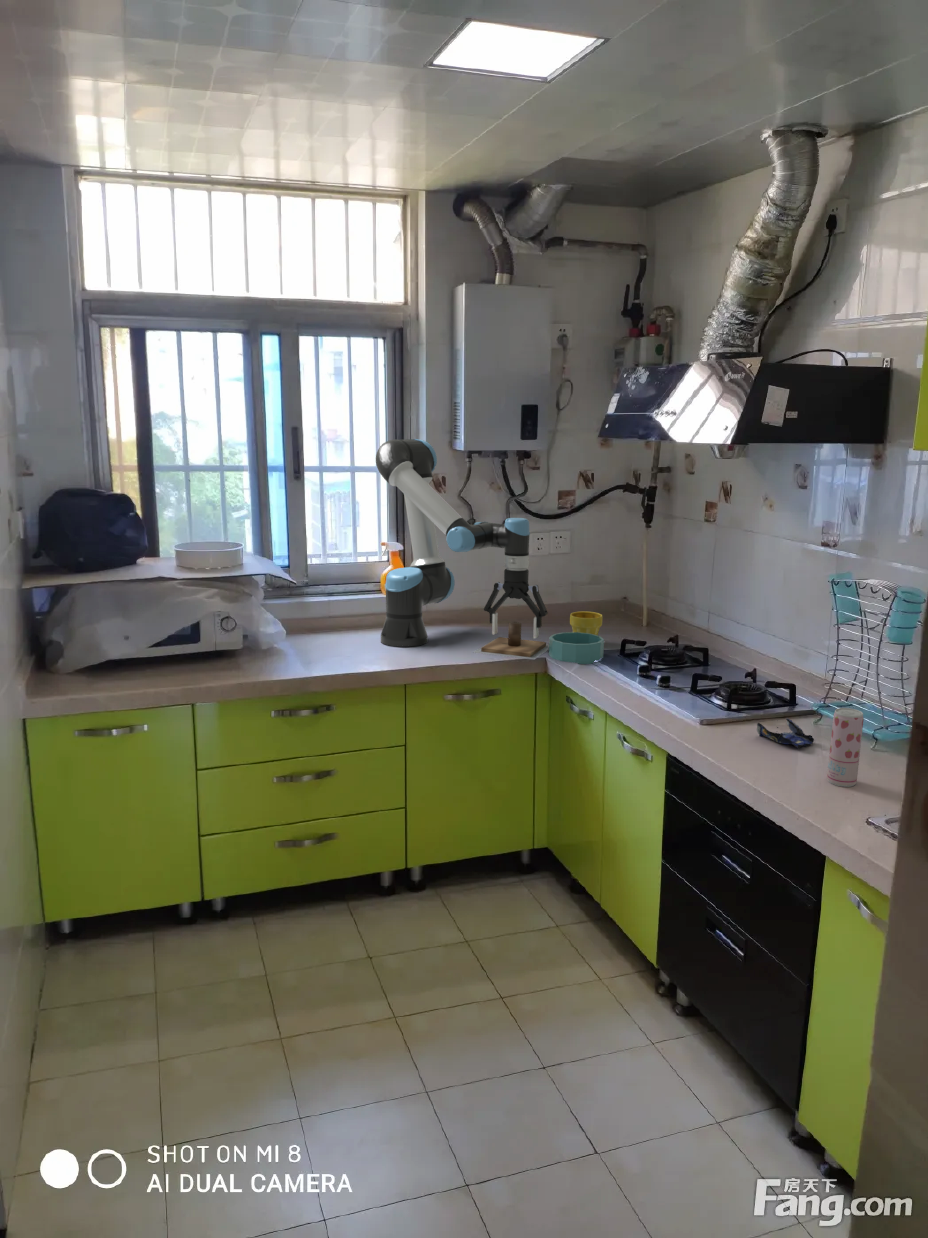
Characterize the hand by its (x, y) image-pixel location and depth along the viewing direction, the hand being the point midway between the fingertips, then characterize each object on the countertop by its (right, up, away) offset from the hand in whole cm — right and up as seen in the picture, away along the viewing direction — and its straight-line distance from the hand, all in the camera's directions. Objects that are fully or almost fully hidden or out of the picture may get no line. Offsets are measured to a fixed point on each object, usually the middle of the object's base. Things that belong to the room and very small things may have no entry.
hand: (515, 635), depth 292 cm
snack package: (+58, -23, -79) cm, 100 cm away
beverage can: (+61, -28, -102) cm, 122 cm away
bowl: (+18, -6, -6) cm, 20 cm away
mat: (0, -5, +1) cm, 5 cm away
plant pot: (+23, -3, +11) cm, 26 cm away
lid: (0, -4, +1) cm, 4 cm away
